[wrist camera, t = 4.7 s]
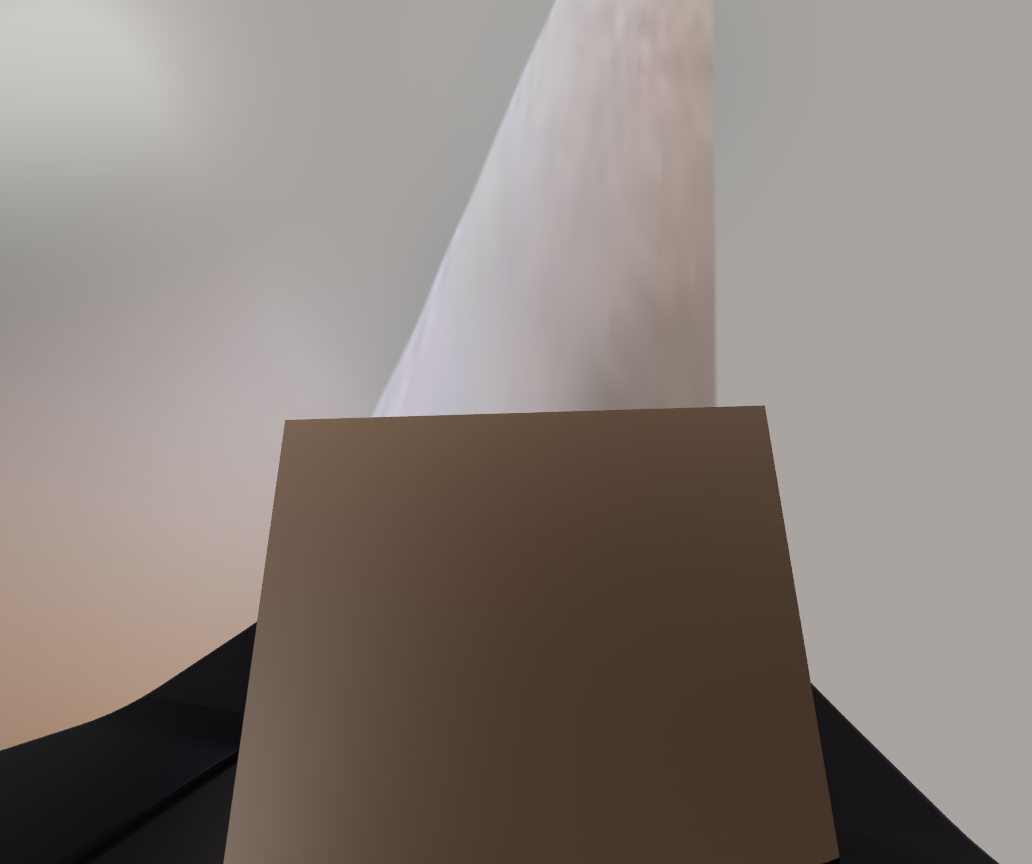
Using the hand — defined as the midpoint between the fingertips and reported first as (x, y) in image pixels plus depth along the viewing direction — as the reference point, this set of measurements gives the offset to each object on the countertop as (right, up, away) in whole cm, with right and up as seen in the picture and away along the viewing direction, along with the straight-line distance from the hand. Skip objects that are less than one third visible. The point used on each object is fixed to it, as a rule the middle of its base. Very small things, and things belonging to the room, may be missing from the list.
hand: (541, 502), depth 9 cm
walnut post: (+1, -3, +6) cm, 7 cm away
